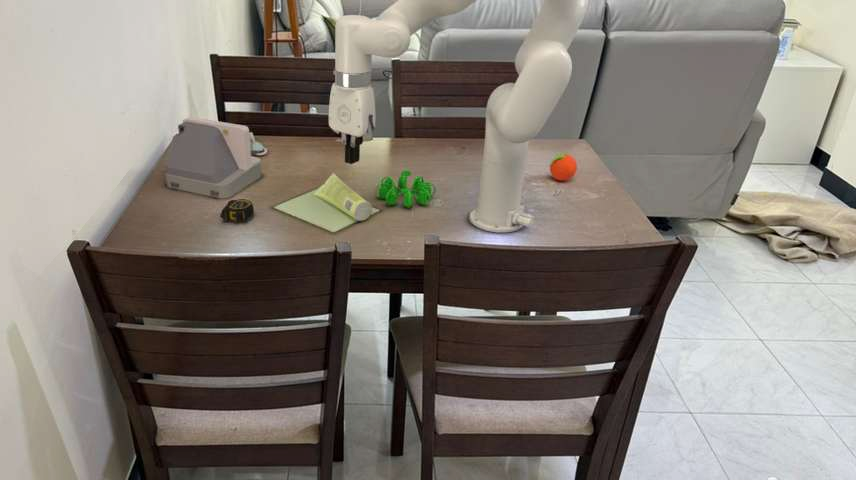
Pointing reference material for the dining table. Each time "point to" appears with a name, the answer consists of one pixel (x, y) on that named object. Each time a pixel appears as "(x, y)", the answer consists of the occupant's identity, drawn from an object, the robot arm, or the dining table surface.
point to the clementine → (563, 167)
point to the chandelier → (405, 190)
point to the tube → (344, 198)
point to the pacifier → (256, 146)
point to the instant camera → (211, 158)
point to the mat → (318, 212)
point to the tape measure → (237, 210)
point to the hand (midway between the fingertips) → (352, 161)
